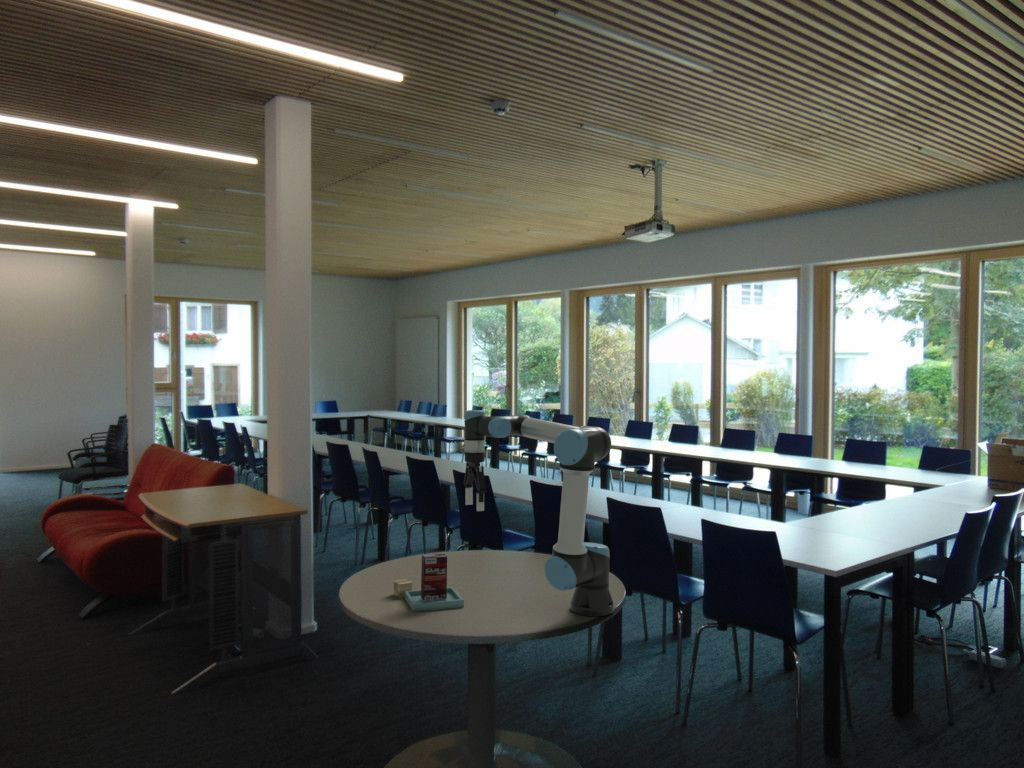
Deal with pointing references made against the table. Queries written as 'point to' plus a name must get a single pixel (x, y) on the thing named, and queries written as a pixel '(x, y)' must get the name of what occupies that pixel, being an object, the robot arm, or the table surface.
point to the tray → (418, 604)
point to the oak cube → (402, 587)
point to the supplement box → (434, 578)
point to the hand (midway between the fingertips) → (474, 507)
